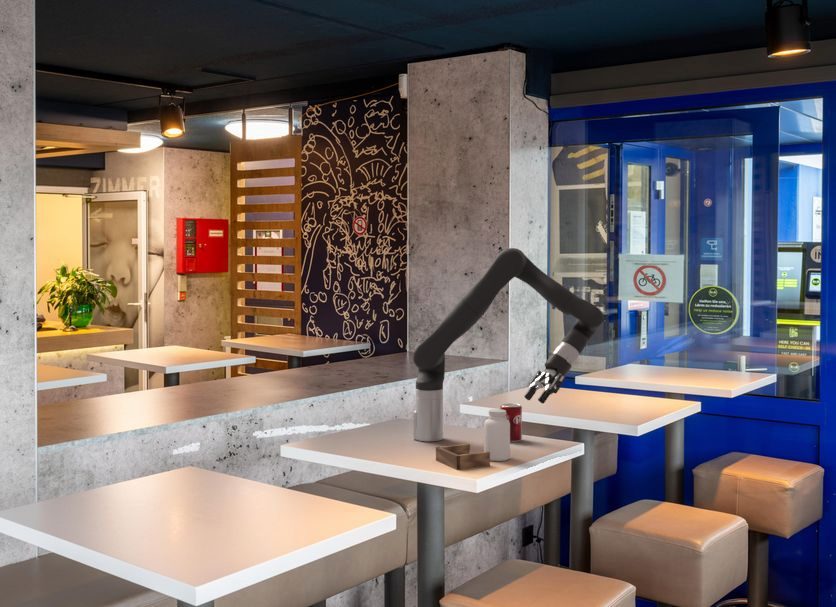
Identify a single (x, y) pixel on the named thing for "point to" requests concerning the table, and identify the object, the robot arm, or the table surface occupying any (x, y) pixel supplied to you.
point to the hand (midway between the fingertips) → (533, 400)
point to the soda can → (514, 420)
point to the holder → (461, 457)
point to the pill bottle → (497, 435)
